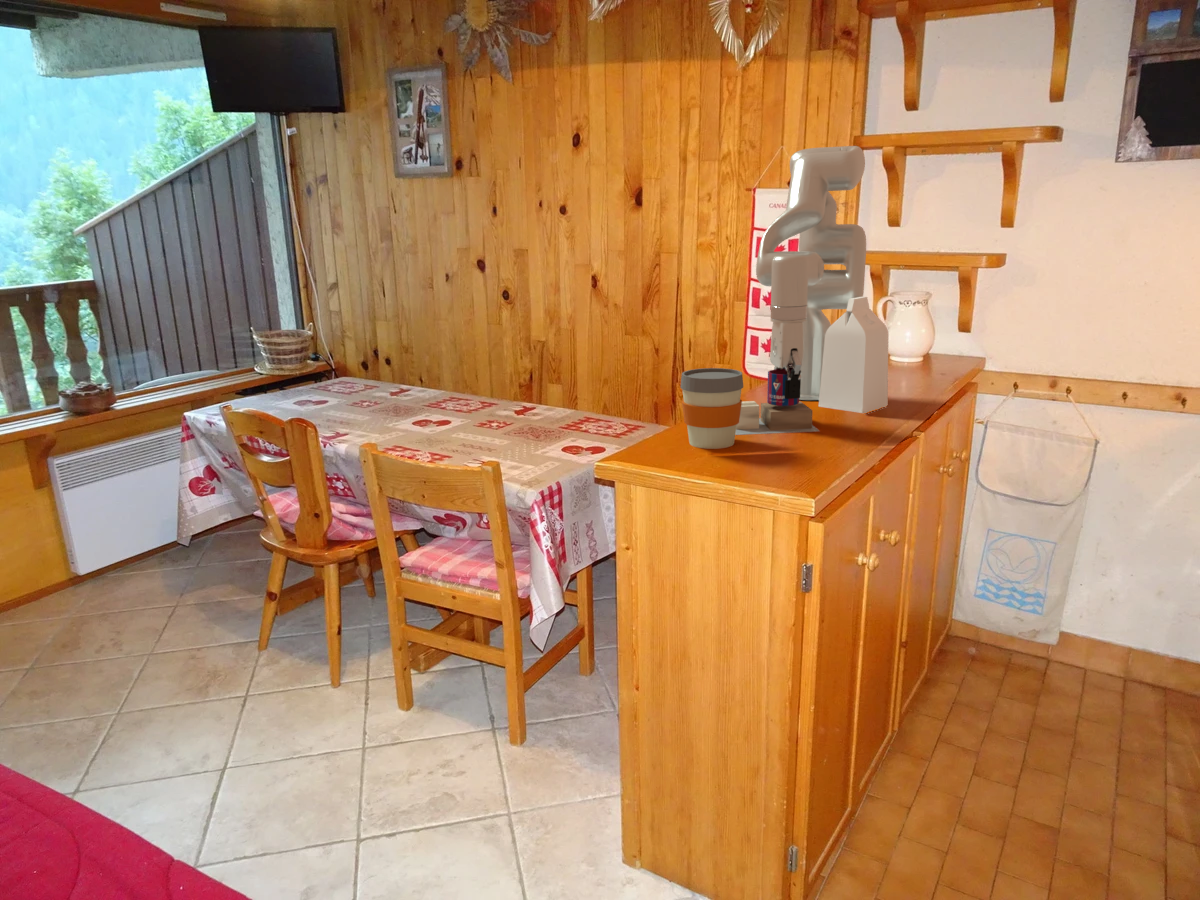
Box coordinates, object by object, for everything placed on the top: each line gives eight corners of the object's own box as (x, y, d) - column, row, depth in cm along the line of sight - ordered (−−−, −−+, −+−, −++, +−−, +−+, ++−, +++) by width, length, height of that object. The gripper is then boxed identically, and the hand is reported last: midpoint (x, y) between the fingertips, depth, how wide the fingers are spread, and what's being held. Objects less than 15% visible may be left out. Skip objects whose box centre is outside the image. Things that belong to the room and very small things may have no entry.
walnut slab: (760, 420, 190) (760, 403, 189) (800, 418, 190) (800, 401, 189) (770, 430, 181) (770, 412, 180) (811, 428, 182) (812, 410, 181)
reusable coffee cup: (729, 456, 165) (730, 380, 161) (670, 450, 171) (670, 376, 167) (751, 441, 176) (752, 369, 172) (695, 435, 182) (695, 366, 178)
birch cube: (731, 424, 188) (731, 402, 187) (753, 423, 188) (754, 401, 187) (736, 429, 183) (736, 406, 182) (759, 428, 183) (759, 405, 182)
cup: (761, 403, 183) (762, 372, 182) (783, 395, 191) (783, 365, 189) (790, 407, 179) (791, 375, 177) (810, 398, 187) (811, 368, 185)
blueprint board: (723, 422, 192) (723, 419, 192) (801, 418, 193) (801, 416, 193) (735, 437, 179) (735, 434, 179) (819, 433, 180) (819, 431, 179)
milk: (844, 400, 210) (849, 294, 203) (887, 406, 202) (894, 296, 195) (818, 409, 202) (822, 299, 195) (862, 415, 194) (867, 301, 187)
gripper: (761, 310, 188) (760, 386, 192) (781, 319, 171) (779, 403, 176) (795, 308, 188) (792, 385, 193) (818, 318, 171) (815, 401, 176)
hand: (786, 393), depth 184 cm, fingers closed on cup, 8 cm apart
